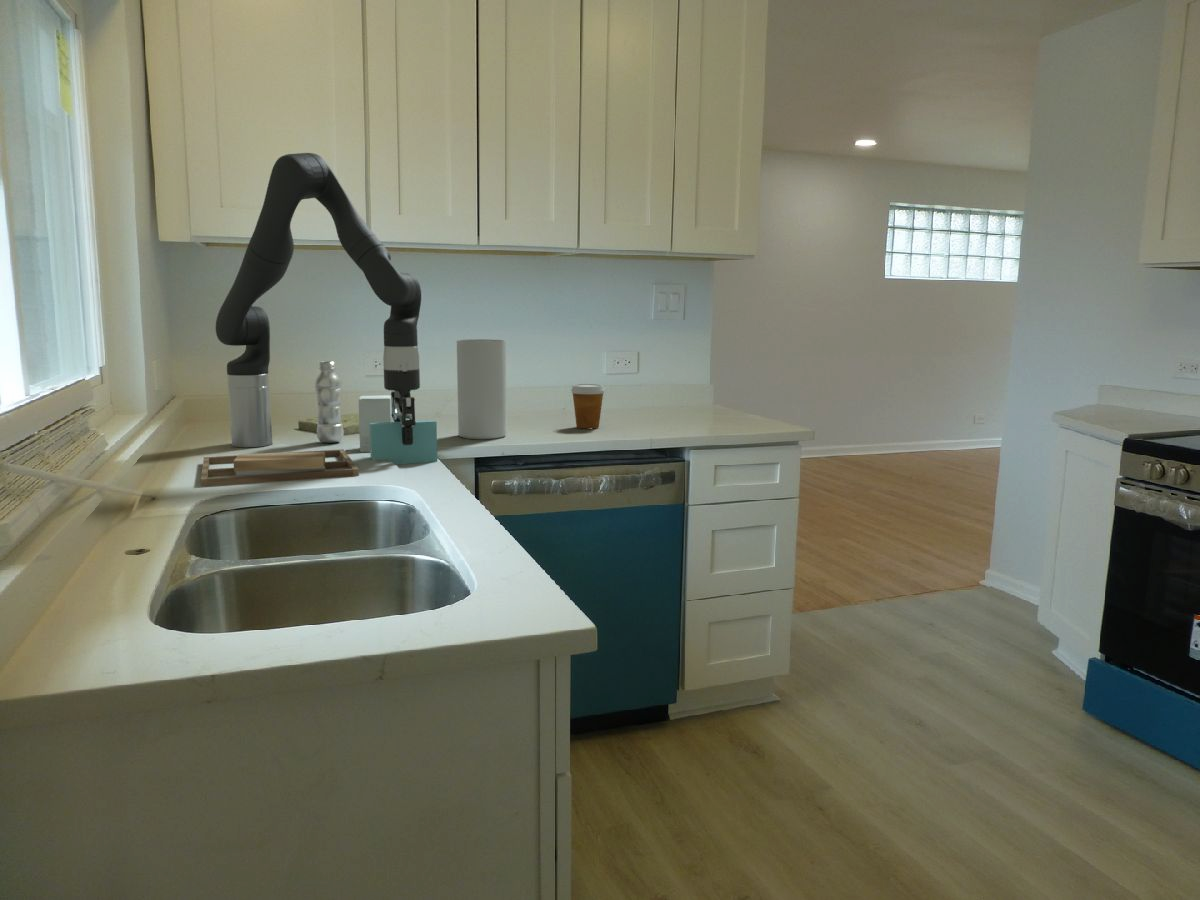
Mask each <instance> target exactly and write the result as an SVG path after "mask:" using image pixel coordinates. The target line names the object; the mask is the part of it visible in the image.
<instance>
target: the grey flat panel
mask: <svg viewBox="0 0 1200 900" xmlns="http://www.w3.org/2000/svg"><path fill="white" fill-rule="evenodd" d="M321 470H326V469H325V466H324V468H320V469H291V470H263V471H236V475H235V476H245V475H261V474H276V473H291V472H306V471H321Z"/></svg>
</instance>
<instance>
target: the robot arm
mask: <svg viewBox="0 0 1200 900" xmlns="http://www.w3.org/2000/svg"><path fill="white" fill-rule="evenodd" d="M266 187H267V188H266V193H265V196H264V201H263V204H262V208H261V210H260V213H259V216H258V219H257V221H256V225H255V228H254V231H253V232H252V235H251V237H250V239H249V242H248V245H247V247H246V250H245V253H244V255H243V258H242V262H241V264H240V266H239V268H238V269H239V270H238V272H237V275H236V276H235V279H234V282H233V284H232V286H231V288H230V289H229V292H228V294H227V295H226V297H225V299H224V301H223V303H222V305H221V306H220V308H219V310H218V313H217V316H216V320H215V321H216V322H215V334H216V337H217V339H218V340H219V342H220V343H222V344H223V345H226V346H233V347H234V346H235V347H236V346H237V347H238V346H240V347H241V346H245V350H244V352H243V353H242V354H241V355H240V356H238V357H237V358H235V359H232V360H230V361H228V362H227V364H226V379H227V390H228V405H229V406H228V407H229V409H228V410H229V423H230V435H231V446H232V447H234V448H235V447H236V448H255V447H264V446H266V447H267V446H270V445H273V429H272V426H273V425H272V409H271V392H270V377H269V366H270V361H271V360H270V359H271V351H270V350H271V329H270V326H271V325H270V319H269V316H268V314H267V313H266V311H265V310H264V308H262V307H261V306H253V305H254V303H256V301H257V300H259V299H260V298H261V297H262V296H263V295H264V294H266V293H267V292H268V291H269V290H271V289H273V287H274V286H276V285H278V283H279V282H280V281H281V280H282V279H283V278H284V276H285V274H286V272H287V270H288V268H289V266H290V263H291V260H292V258H293V256H294V251H295V245H294V238H293V234H292V229H291V223H292V219H293V217H294V215H295V212H296V209H297V207H298V205H299V204H300V203H301V202H302V200H309V199H315V200H317V201H318V202H319V203H320V204H321V205H322V206H323V207H324V208H325V210H327V211H328V213H329V215H330V217H332V220H333V222H334V223H333V224H334V226H335V229H336V233H337V238H338V240H339V243H340V244H341V246H342V248H343V250H344V251H345V253H346V254H347V255H348V256H349V258H351V260H352V261H353V262H354V263H355V264H356V265H357V267H358V268H359V270H361V272H363V276H364V277H365V278H366V281H367V283H368V284H369V285H370V288H371V289H372V291H373V293H374V294H375V296H377V298H378V299H379V300H381V302H382V303H384V304H385V305H387V306H390V313H389V314H390V315H389V317H388V318H387V319H386V320H385V321H384V324H383V346H384V347H383V357H382V360H383V386H384V389H385V390H387V391H391V392H390V396H391V412H392V414H391V416H392V422H401V427H402V444H403V445H412V444H413V428H412V427H414V425H415V424H416V422H415V421H416V411H415V410H416V407H415V400H416V399H415V397H414V396H411V391H416V390H419V389H420V387H421V384H420V383H421V377H420V374H421V373H420V355H419V349H418V348H419V347H418V343H419V342H418V322H419V317H420V310H421V303H422V290H421V284H420V282H419V281H418V279H417V278H416V277H415V275H413V274H410V273H407V272H399V270H397V269H396V268H395V266H394V265H393V264H392V262H391V259H392V258H391V254H390V252H389V251H388V249H387V248H386V246H385V245H384V244H383V243H382V242H381V240H380V239H379V238H378V237H377V235H376V234H375V233H374V232H373V230H372V229H371V228H370V227H369V226H368V225H367V223H366V222H365V221H364V219H363V218H362V217H361V215H360V214H359V212H358V211H357V208H356V207H355V205H354V204H353V203H352V201H351V199H350V198H349V196H348V194H347V193H346V191H345V189H344V188H343V186H342V185H341V183H340V181H339V180H338V178H337V176H336V175H335V173H334V171H333V169H332V168H331V166H330V165H329V164H328V163H327V161H326V160H325V159H324V158H323V157H322V156H321V155H318V154H317V153H313V152H301V153H300V152H299V153H298V152H297V153H288V154H284V155H281V156H280V157H279V158H277V159H276V161H275V163H274V165H273V167H272V169H271V172H270V176H269V180H268V183H267V186H266Z"/></svg>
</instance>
